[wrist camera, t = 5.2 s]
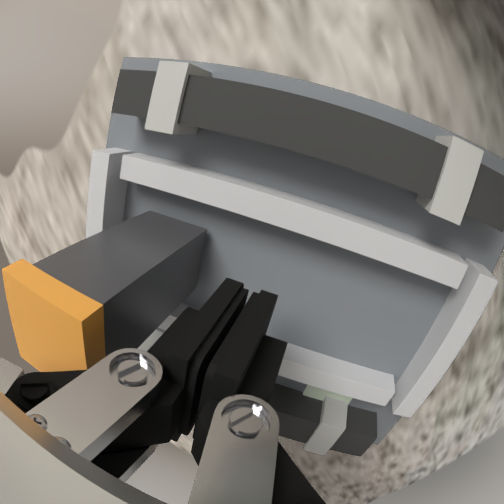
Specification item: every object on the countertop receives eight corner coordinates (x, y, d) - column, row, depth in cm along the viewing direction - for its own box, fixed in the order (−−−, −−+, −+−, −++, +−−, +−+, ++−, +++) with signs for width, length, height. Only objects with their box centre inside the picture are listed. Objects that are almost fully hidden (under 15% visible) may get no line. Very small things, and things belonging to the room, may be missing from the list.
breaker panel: (141, 62, 13) (101, 51, 10) (512, 170, 10) (548, 180, 7) (112, 327, 19) (83, 352, 16) (377, 426, 16) (377, 465, 14)
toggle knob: (146, 204, 13) (1, 269, 6) (212, 226, 13) (81, 321, 6) (139, 268, 15) (20, 356, 8) (199, 292, 14) (94, 409, 7)
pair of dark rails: (147, 66, 11) (119, 58, 10) (500, 168, 9) (525, 174, 7) (117, 344, 17) (98, 363, 16) (358, 435, 15) (356, 462, 13)
